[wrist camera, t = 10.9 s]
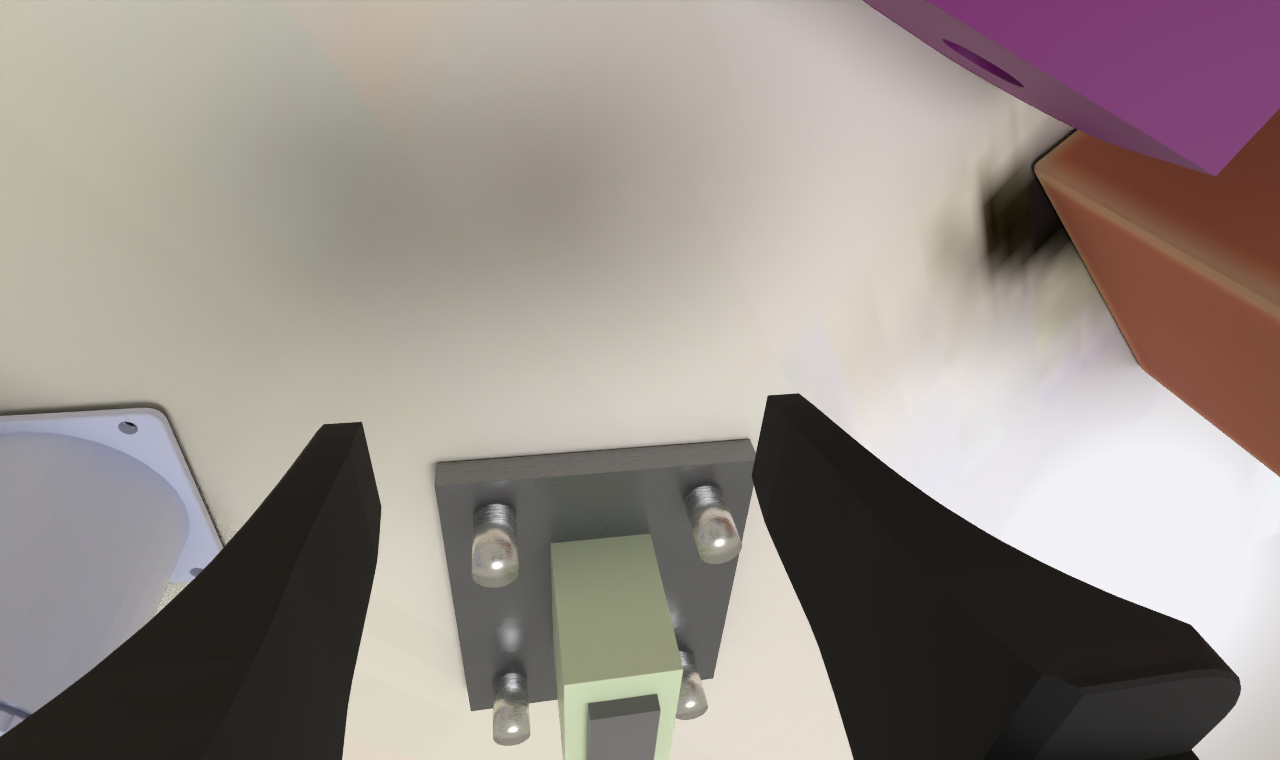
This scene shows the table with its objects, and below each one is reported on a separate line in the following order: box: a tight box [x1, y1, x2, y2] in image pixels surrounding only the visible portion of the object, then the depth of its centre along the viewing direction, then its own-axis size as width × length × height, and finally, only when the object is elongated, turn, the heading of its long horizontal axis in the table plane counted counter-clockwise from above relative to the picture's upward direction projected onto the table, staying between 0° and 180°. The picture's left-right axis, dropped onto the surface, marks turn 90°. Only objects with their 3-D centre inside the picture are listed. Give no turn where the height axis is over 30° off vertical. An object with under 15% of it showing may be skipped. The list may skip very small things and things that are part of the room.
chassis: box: [435, 439, 756, 746], centre depth 30 cm, size 12×15×4 cm
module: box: [550, 534, 683, 760], centre depth 28 cm, size 4×7×7 cm, turn 176°
